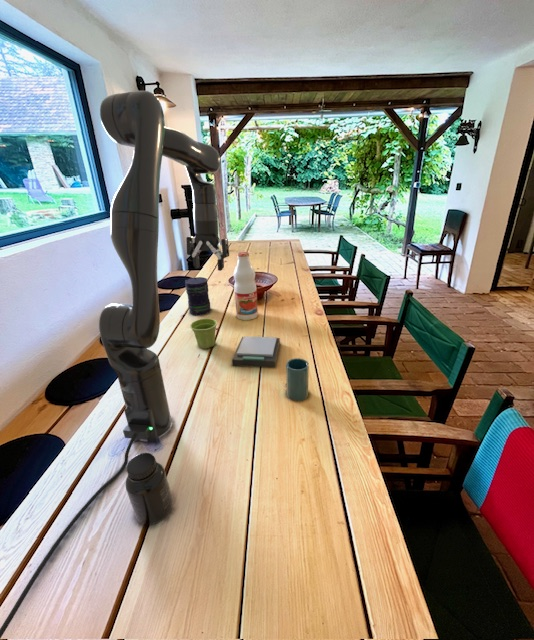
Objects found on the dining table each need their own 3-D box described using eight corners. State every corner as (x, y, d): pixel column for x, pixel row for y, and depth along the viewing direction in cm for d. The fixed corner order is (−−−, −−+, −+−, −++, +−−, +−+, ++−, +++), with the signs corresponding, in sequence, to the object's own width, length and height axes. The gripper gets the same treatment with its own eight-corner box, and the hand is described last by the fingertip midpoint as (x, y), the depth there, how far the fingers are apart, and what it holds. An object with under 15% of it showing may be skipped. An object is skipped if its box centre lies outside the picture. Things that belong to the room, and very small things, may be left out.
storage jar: (213, 313, 146) (209, 281, 140) (191, 317, 143) (186, 285, 137) (208, 306, 154) (204, 276, 148) (187, 309, 151) (183, 279, 145)
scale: (274, 367, 103) (274, 359, 102) (232, 365, 105) (231, 357, 104) (279, 343, 118) (279, 335, 116) (242, 342, 120) (241, 334, 118)
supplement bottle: (159, 486, 65) (148, 441, 60) (180, 505, 61) (169, 459, 56) (128, 511, 61) (113, 465, 56) (148, 534, 57) (133, 487, 52)
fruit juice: (251, 310, 148) (247, 249, 136) (261, 317, 140) (258, 253, 129) (233, 315, 143) (227, 252, 132) (242, 322, 136) (237, 256, 124)
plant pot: (214, 352, 114) (211, 330, 110) (189, 350, 116) (186, 328, 112) (222, 339, 122) (220, 319, 119) (199, 338, 124) (196, 317, 120)
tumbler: (307, 401, 87) (308, 370, 83) (285, 400, 88) (285, 369, 84) (308, 388, 93) (309, 358, 89) (287, 387, 94) (287, 357, 90)
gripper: (179, 218, 100) (184, 269, 106) (221, 220, 96) (223, 273, 102) (191, 216, 107) (195, 265, 113) (231, 218, 103) (232, 268, 109)
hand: (208, 269), depth 108 cm, fingers open, 8 cm apart
